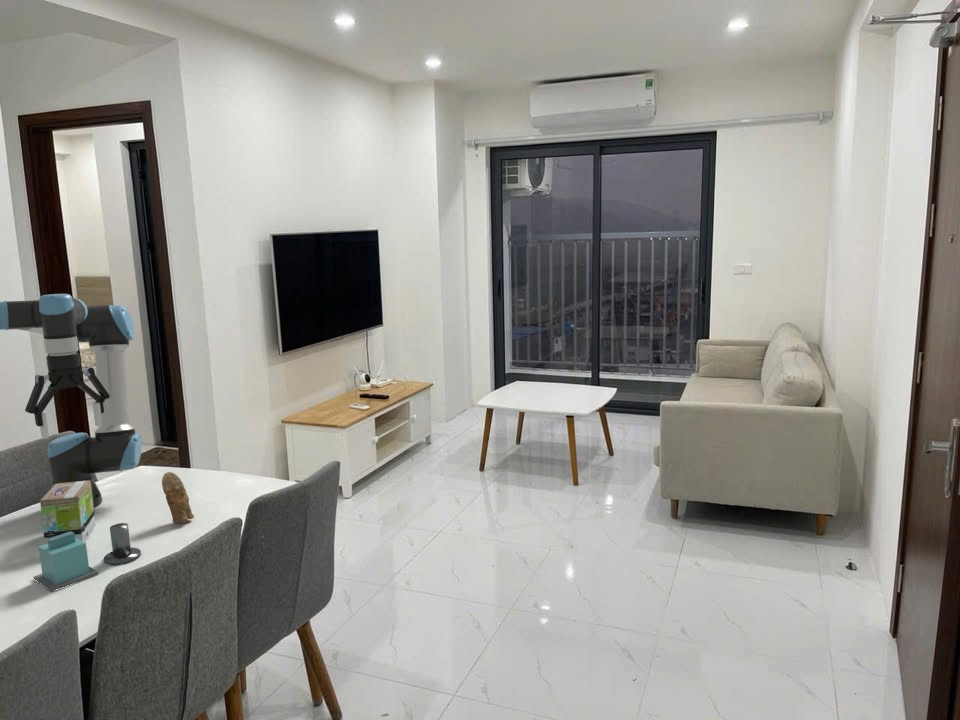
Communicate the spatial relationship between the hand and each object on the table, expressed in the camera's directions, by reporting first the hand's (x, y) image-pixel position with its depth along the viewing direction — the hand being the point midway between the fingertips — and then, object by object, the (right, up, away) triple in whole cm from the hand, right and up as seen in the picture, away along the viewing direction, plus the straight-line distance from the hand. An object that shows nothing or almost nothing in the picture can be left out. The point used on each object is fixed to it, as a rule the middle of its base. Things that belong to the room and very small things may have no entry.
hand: (72, 431), depth 189 cm
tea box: (-10, -33, +17) cm, 38 cm away
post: (+12, -34, +3) cm, 37 cm away
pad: (+3, -37, -8) cm, 37 cm away
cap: (+3, -36, -8) cm, 37 cm away
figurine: (+18, -30, +27) cm, 44 cm away
